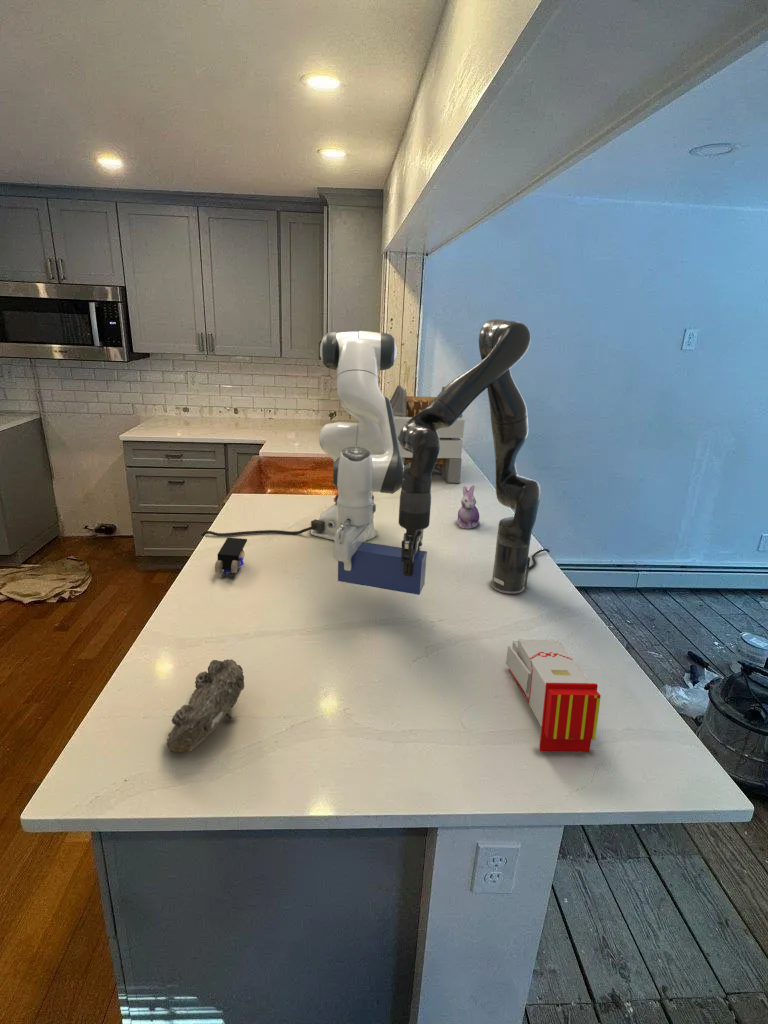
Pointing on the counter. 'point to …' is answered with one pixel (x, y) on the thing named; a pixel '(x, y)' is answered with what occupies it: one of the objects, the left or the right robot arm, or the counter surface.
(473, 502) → the figurine
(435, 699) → the counter surface
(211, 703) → the fossil
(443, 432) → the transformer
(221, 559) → the figurine character
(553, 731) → the toy
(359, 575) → the box
